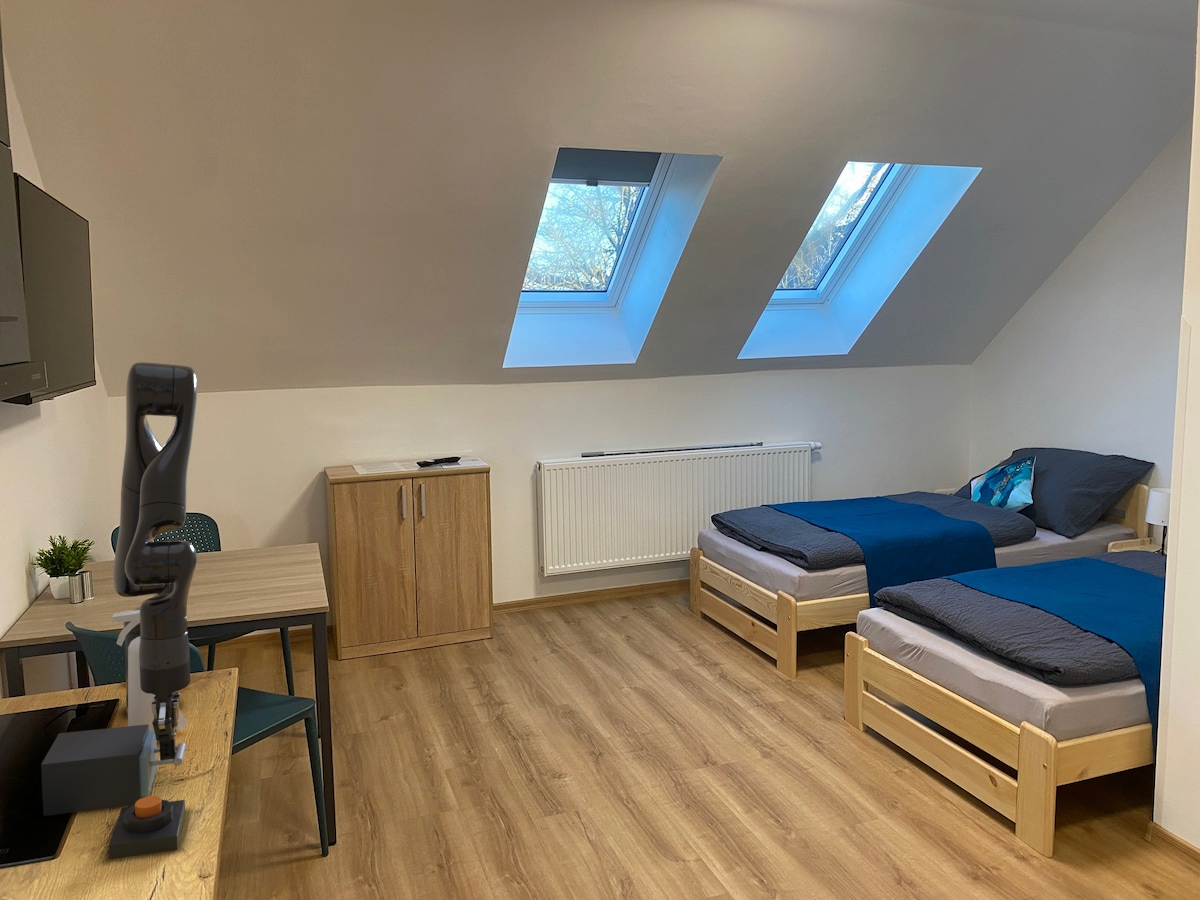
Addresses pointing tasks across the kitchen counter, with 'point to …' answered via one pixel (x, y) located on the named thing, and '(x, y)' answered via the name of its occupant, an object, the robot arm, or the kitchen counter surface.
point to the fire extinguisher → (138, 678)
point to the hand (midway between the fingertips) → (168, 758)
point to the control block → (147, 831)
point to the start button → (148, 806)
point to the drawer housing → (93, 770)
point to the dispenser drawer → (154, 761)
